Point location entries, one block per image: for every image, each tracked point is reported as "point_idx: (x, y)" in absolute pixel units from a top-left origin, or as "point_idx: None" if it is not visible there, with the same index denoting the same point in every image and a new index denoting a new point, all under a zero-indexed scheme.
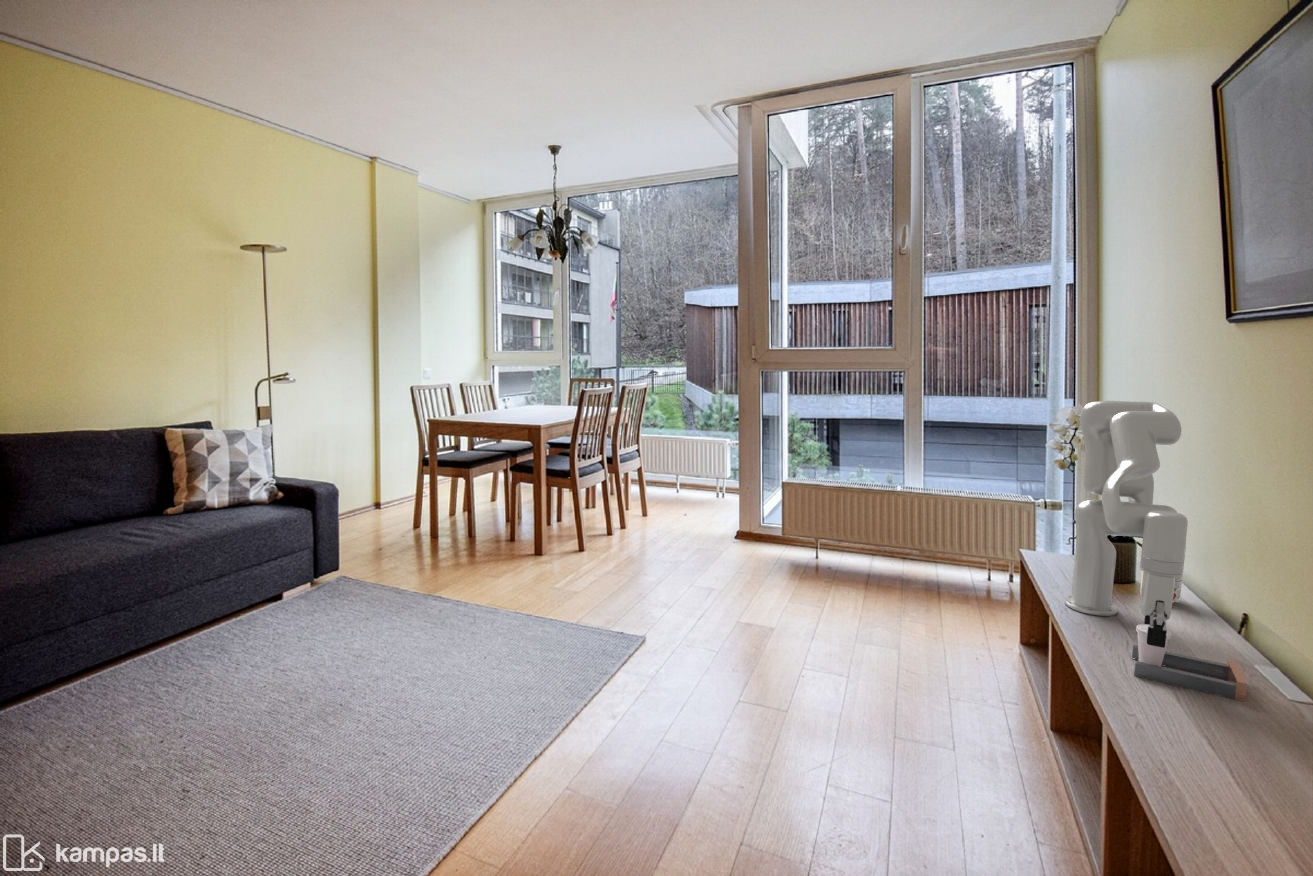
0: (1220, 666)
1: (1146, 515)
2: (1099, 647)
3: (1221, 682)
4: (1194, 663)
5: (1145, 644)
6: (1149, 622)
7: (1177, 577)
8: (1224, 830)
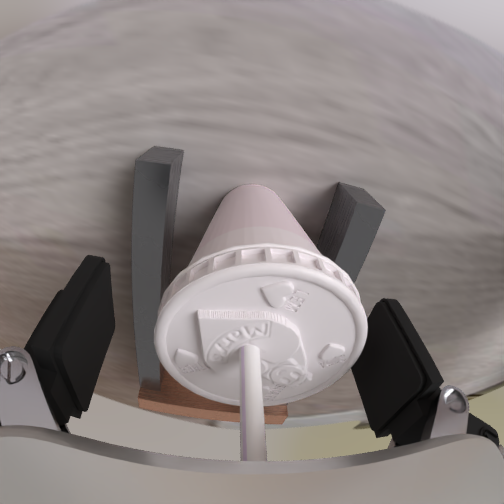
0: None
1: None
2: (412, 92)
3: (140, 371)
4: None
5: (199, 248)
6: (390, 355)
7: None
8: None
